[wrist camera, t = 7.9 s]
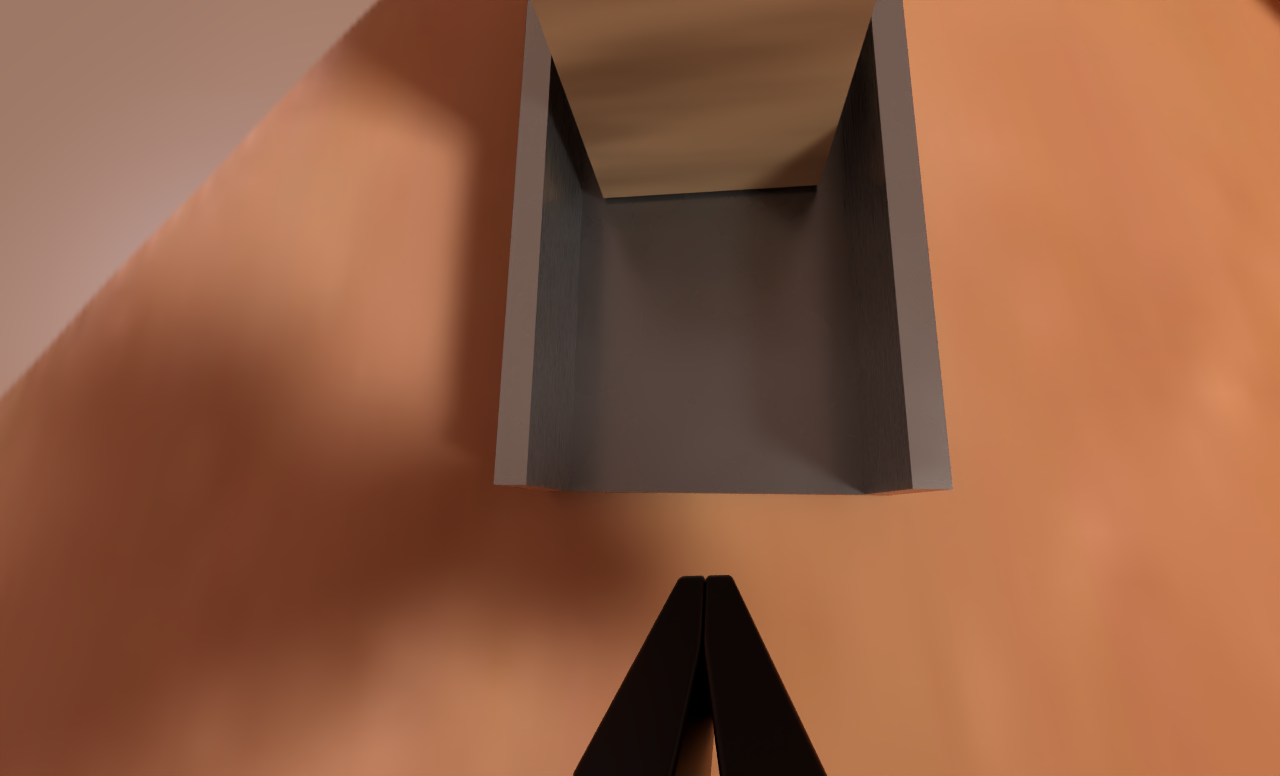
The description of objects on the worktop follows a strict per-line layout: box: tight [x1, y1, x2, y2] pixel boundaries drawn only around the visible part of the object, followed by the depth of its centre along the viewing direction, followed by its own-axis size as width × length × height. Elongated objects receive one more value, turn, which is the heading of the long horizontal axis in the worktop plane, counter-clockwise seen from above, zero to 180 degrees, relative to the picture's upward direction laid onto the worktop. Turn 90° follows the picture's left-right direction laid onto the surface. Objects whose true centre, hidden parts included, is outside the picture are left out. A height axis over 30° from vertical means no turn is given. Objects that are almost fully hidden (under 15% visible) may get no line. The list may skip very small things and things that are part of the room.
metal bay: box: [494, 0, 953, 495], centre depth 17 cm, size 20×10×5 cm, turn 179°
